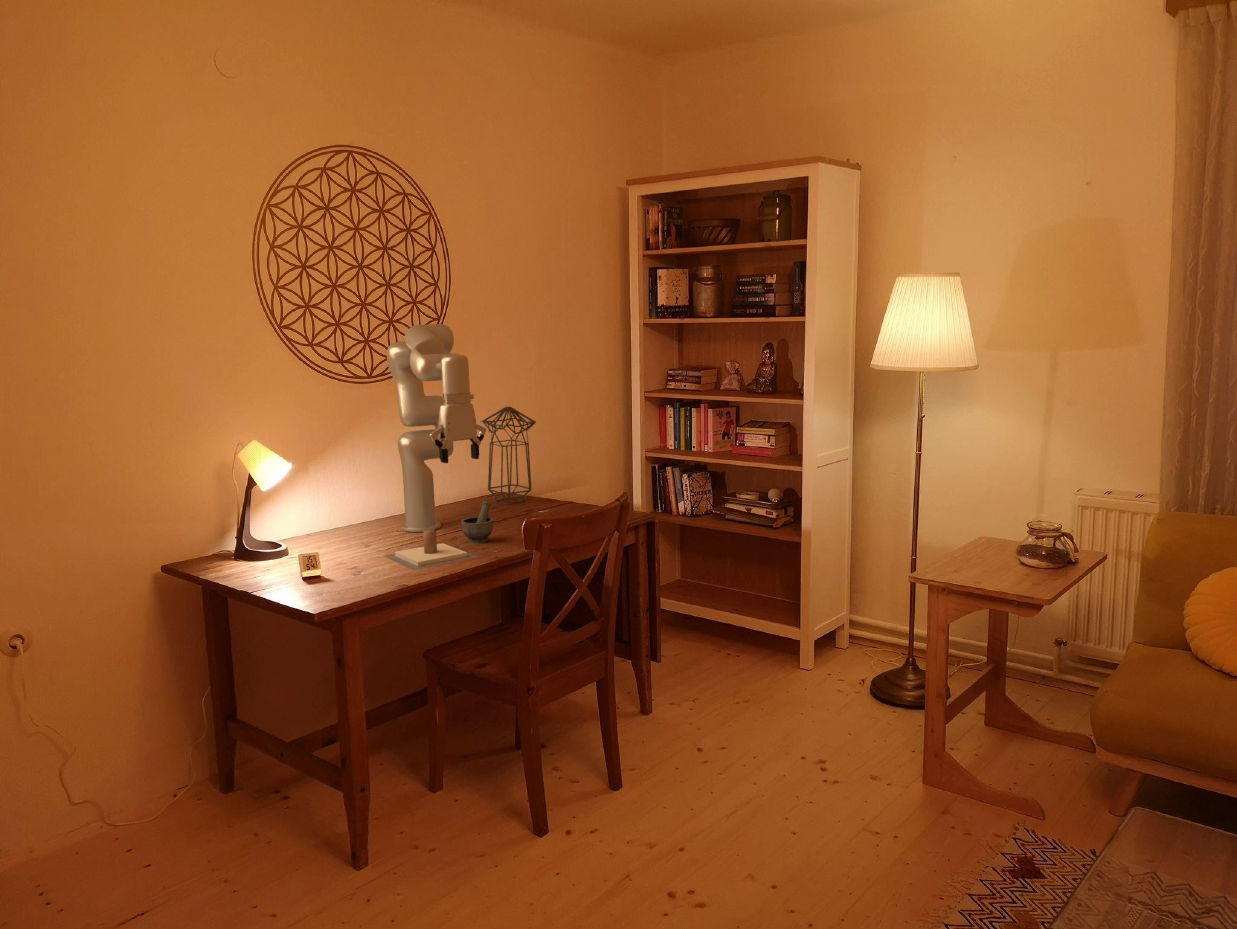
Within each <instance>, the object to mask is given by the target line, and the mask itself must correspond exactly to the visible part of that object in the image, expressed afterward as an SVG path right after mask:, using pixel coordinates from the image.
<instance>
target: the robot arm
mask: <svg viewBox="0 0 1237 929" xmlns="http://www.w3.org/2000/svg"><path fill="white" fill-rule="evenodd" d="M454 343H455V337H454V333H453V331H452V329H451V328H450V327H449V326H447V325H446V324H444V323H443V324H442V323H441V324H440V323H439V324H437V323H435V324H433V323H432V324H415V325H413V326H411V327H409V328H408V329H407V330H406V331H405V334H404V340H402V341H397V342H394V343H391V344H390V345H389V346H388V348H387V351H386V361H387V366H388V369H389V371H390V374H391V376H392V379H393V380H394V383H395V387H396V388H395V391H396V398H397V400H396V401H397V406H398V407H397V408H398V414H399V415H398V416H399V420H400V422H401V424H402V425H403V426H404V427H407V428H408V427H411V428H412V427H428V426H434V428H435V429H434V428H433V429H421V430H411V431H406V432H404V433H402V434H401V435H400V436H399V438H398V440H397V447H398V448H397V449H398V454H399V458H400V462H401V472H402V484H403V487H402V488H403V498H404V501H403V502H404V503H403V504H404V518H405V522H404V523H402V524H401V526H400V529H401V530H402V531H404V532H410V533H420V532H421V533H423V531H427V530H435V531H436V530H438V529H440V528H441V527H442V526H441V525H442V524H441V522H440V521H437V519H436V505H435V503H436V502H435V486H434V485H435V484H434V482H435V481H434V473H433V471H432V469H431V468H430V467H429V466H428V464H426V462H425V461H428V460H437V459H438V460H440V463H442V464H443V463H444V464H448V463H449V457H450V456H452V454H453V453H454V442H458V441H460V442H461V441H466V440H469V441H470V442H471V444H470V458H471V459H473V460H479V459H480V445H481V442H482V441H483V440H484V439H485V435H486V432H487V427H484V426H482V425H480V424H478V423H477V418H476V412H475V408H474V405H473V403H472V400H474V398H475V395H474V394H472V393H471V389H470V387H471V386H470V370H469V369H470V367H469V358H468V356H466V355H464V354H460V353H456V352H455V353H454V352H453V353H451V352H452V350H453V348H454ZM435 381H437V382H438V381H441V385H442V387H441V388H442V389H441V391H442V395H438V394H437V395H425V391H424V389H425V388H424V382H435ZM478 431H479V432H478Z"/></svg>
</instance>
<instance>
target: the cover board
mask: <svg viewBox="0 0 1237 929" xmlns="http://www.w3.org/2000/svg"><path fill="white" fill-rule="evenodd" d="M422 539H423V546H419V547H414V548H409V549H403V550H399V551H398V550H397V551H394V554H395V556H396V557H398V558H401V559H403V560H405V561H407V562H410V563H412V564H414V565H416V566H422V565H428V564H433V563H438V562H443V561H448V560H453V559H459V558H464V557H467V551H465V550H463V551H461V550H462V549H460V548H458V549H456V548H457V547H455V546H452V545H450V546H449V544H447V543H437V531H436V529H435V530H427V531H423V532H422ZM446 544H447V545H446ZM451 546H452V547H451ZM454 547H455V548H454ZM459 549H460V550H459ZM464 551H465V552H464Z"/></svg>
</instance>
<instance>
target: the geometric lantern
mask: <svg viewBox="0 0 1237 929" xmlns="http://www.w3.org/2000/svg"><path fill="white" fill-rule="evenodd" d="M503 415H504V416H503ZM495 416H496V417H495ZM493 417H495V418H493ZM508 417H509V418H508ZM492 418H493V420H490V419H492ZM501 418H502V419H501ZM526 419H527V420H528V421H526ZM514 420H515V421H516V422H517V424H518V425H516V424H515V423H514V422H515V421H514ZM498 422H501V423H500V424H498ZM510 422H512V424H510ZM521 422H522V423H521ZM480 423H482V424H484V426H485V428H486V429H487V430H488V432H489V433H490V434H491V438H490V442H488V444H489V453H488V454H489V455H488V476H487V477H488V481H487V490H488V491H489V492H490V493H491V494H492V495H493V496H494V502H495V503H497V504H503V505H512V504H518V503H523V502H524V501H525V497H526V496H527V495H528V494H529V493H530V492H532V478H531V477H532V476H531V463H530V462H531V460H530V459H531V458H530V443H529V436H528V431H529V430H530V429H531V428H532V427H533V426H534V425H535V424H536V423H537V421H536V420H534V419H532V418H530V417H529V416H527V415H525V414H524V413H522V412H521V411H518V410H517V409H515V408H514V407H512V406H504V407H502V408H501V409H500V410H498V411H496V412H494V413H493V414H491V415H489V416H487V417H486V418H484V419H483V420H480ZM504 423H505V425H504ZM525 426H526V427H525ZM506 427H507V428H508V430H510V431H511V432H512V434H513V435H512V436H511V435H510V434H509V433H508V430H506ZM511 427H513V429H512V428H511ZM516 428H520V430H519V431H518V432H516ZM499 430H504V431H505V433H506V434H507V435H508V436H509V438H510V439H506V440H500V439H499V437H498V435H497V432H498V431H499ZM524 432H526V438H525V436H524ZM515 435H516V437H515V439H513V438H514V436H515ZM520 435H521V436H522V439H523V441H522V440H518V437H519V436H520ZM495 437H496V441H494V438H495ZM526 441H527V442H526ZM503 442H507V444H506V445H504V444H502V443H503ZM513 442H514V443H515V444H513ZM517 442H518V443H519V444H517ZM495 443H499V444H495ZM509 443H510V445H509ZM494 446H496V447H497V446H498V447H500V448H501V456H500V458H501V462H500V464H501V465H500V467H501V468H500V485H497V486H492V471H493V470H492V469H493V453H494ZM518 446H525V456H526V458H525V459H526V469H527V481H528V486H524V485H519V471H518V470H519V469H518V468H519V467H518V466H519V465H518ZM509 447H510V462H509V455H508V454H509V450H508V449H509ZM513 447H515V448H514V449H515V470H516V472H515V473H516V475H515V476H516V484H512V471H513V470H512V468H513V467H512V466H513V464H512V463H513ZM504 448H505V450H506V451H505V453H506V454H505V455H506V473H507V474H506V475H507V484H504V485H503V481H504V480H503V475H504V474H503V473H504V470H503V469H504V468H503V467H504ZM509 465H510V466H509ZM509 467H510V468H509ZM511 486H512V487H514V489H513V490H512V492H511ZM504 487H507V490H508V492H503V488H504ZM517 487H519V488H523V489H527V490H520V491H515V490H516V489H517ZM499 488H500V491H497V490H494V489H499ZM495 493H496V494H495ZM521 493H524V494H521ZM505 495H508V496H507V497H508V498H507V497H506V496H505ZM514 495H517V496H515V497H514ZM497 498H500V499H497ZM521 498H522V499H521ZM511 499H512V500H517V501H514V502H511ZM501 501H505V502H501Z"/></svg>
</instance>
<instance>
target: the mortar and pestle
mask: <svg viewBox="0 0 1237 929" xmlns="http://www.w3.org/2000/svg"><path fill="white" fill-rule="evenodd" d="M491 506H492V502H491V501H488V500H483V501H482V505H481V510H480V511H479V515H478V516H475V517H474V516H472V517H468V518H464V519H461V520H460V521H461V522H460V524H461V526H460V527H461V531H462V534H463V535H464V537H466V538H467V539H468V541H467V542H468V543H470V544H480V543H481V544H482V543H486V542H489V537H490V536H491V534H492V533H493V530H494V528H493V527H494V518H493V517H489V513H490V509H491V508H490V507H491Z"/></svg>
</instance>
